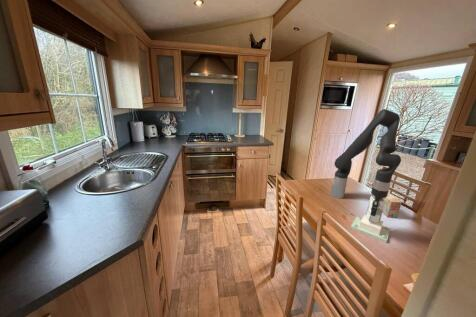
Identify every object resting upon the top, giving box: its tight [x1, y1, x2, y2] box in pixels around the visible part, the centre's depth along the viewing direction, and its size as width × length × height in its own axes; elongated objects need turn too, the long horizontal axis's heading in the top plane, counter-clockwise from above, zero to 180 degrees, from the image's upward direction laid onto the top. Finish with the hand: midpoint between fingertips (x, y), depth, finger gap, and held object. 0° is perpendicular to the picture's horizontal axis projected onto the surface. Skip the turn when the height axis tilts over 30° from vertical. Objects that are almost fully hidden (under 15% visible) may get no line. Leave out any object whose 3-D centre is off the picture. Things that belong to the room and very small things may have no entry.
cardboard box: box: [371, 192, 402, 219], centre depth 136 cm, size 21×6×12 cm, turn 174°
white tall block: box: [365, 195, 385, 223], centre depth 112 cm, size 6×6×14 cm
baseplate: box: [350, 214, 391, 243], centre depth 116 cm, size 18×14×6 cm
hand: (374, 212), depth 113 cm, fingers closed on white tall block, 7 cm apart
